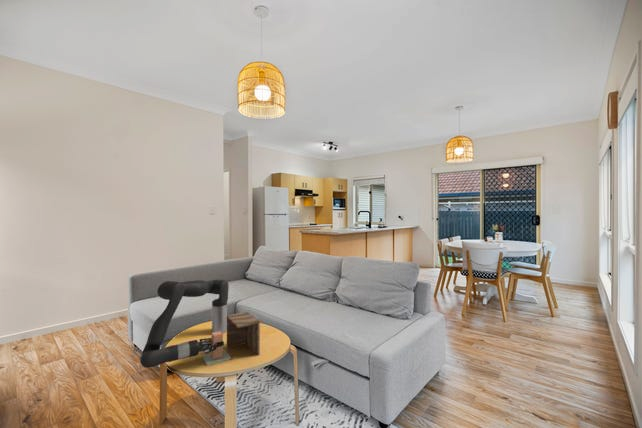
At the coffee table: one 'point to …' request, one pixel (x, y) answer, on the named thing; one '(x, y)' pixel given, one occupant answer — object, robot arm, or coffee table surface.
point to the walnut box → (243, 331)
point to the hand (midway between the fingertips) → (222, 341)
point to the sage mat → (210, 360)
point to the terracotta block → (216, 338)
